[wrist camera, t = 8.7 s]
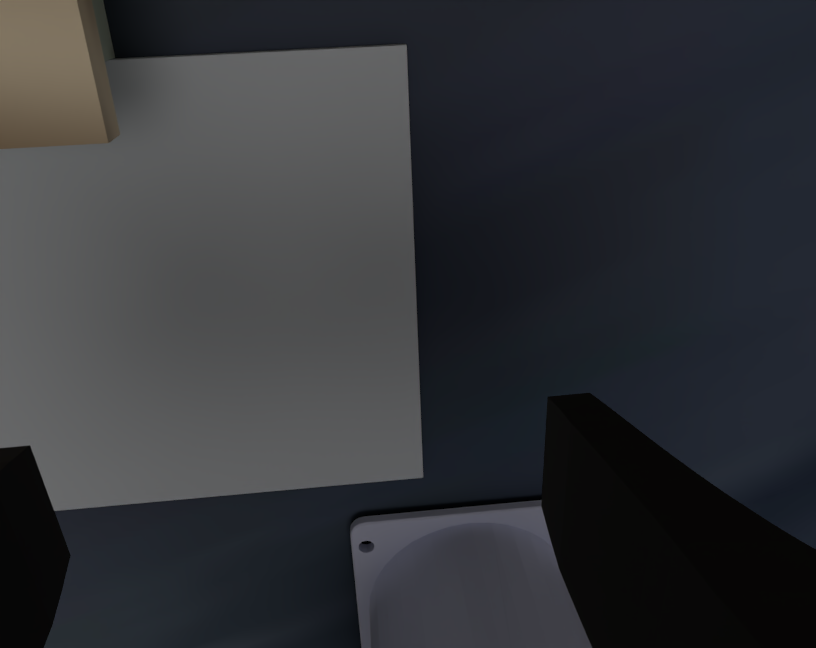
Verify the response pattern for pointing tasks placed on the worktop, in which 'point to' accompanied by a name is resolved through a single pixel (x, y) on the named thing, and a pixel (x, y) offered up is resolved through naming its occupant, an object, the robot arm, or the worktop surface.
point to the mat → (217, 283)
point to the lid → (53, 76)
